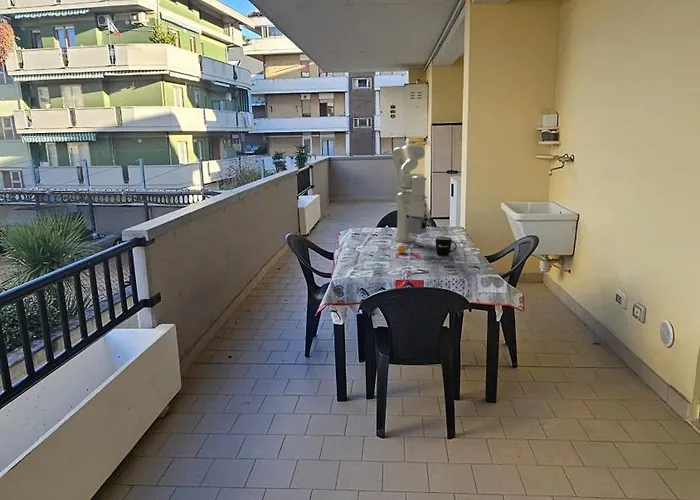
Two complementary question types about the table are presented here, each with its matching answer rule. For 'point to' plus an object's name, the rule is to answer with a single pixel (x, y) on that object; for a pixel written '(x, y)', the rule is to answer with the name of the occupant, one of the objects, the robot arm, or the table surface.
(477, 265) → the table surface
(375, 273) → the table surface
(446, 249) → the mug
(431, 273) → the table surface
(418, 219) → the grey rounded box
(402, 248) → the ball
